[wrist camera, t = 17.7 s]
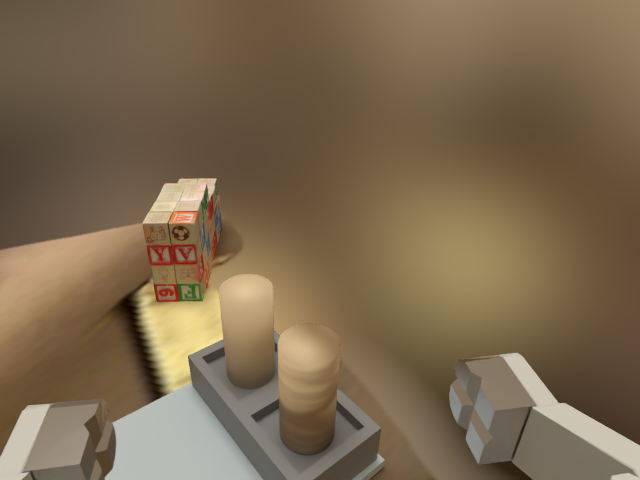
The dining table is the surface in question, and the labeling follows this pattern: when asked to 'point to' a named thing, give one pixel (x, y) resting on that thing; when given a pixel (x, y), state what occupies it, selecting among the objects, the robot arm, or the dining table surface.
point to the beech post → (308, 387)
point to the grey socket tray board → (238, 412)
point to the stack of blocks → (183, 238)
